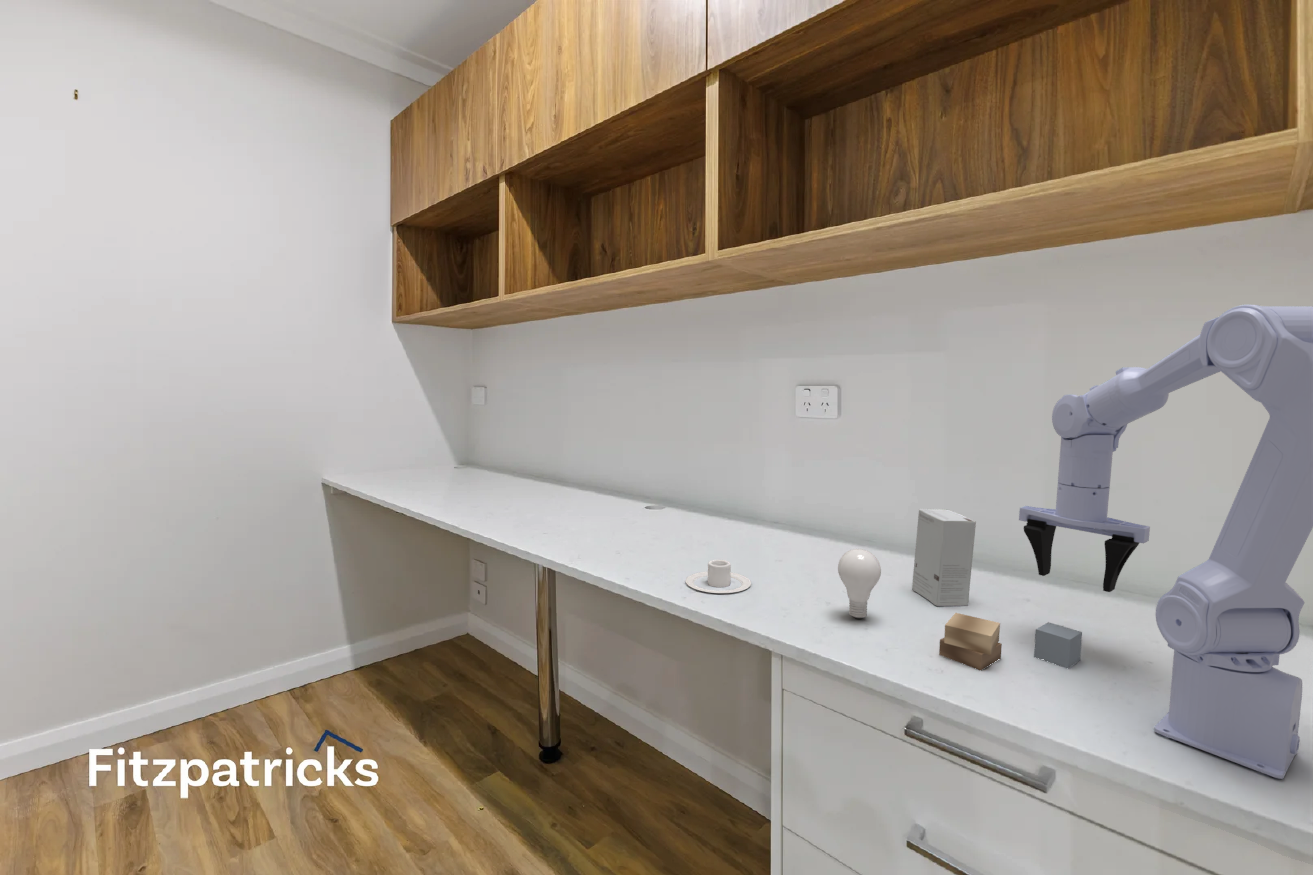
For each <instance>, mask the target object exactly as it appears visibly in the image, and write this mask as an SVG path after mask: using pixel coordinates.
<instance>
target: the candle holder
mask: <svg viewBox="0 0 1313 875" xmlns="http://www.w3.org/2000/svg"><path fill="white" fill-rule="evenodd" d="M731 568H732V564H731V562H730V561H728V560H723V559H712V560H710V561H709V560H708V562H707V570H706V571H701V572H696V573H693V574H690V575H689V576H687V577H686V578H685V581H684V582H685V584H687V585H688V587H690V588H692V589H694V590H696V591H700V592H705V593H709V594H710V593H712V594H732V593H738V592H739V593H740V592H742V591H745V590H747V589H749V588H750V587H751V586H752V581H751V580H750V578H748V577H746V576H744V575H742V574H740V573H735V572H732V571H731ZM705 577H707V585H708V586H711V587H713V588H726V587H729V586H730V585H731V580H732V579H734V580H737V581H739V582H740V586H739V587H737V588H734V589H728V590H727V589H726V590H713V589H706V588H702V587H700V586H697V585H696V584H695V581H696V580H698V579H701V578H705ZM731 578H732V579H731Z"/></svg>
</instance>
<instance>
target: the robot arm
mask: <svg viewBox="0 0 1313 875" xmlns="http://www.w3.org/2000/svg"><path fill="white" fill-rule="evenodd" d="M1200 330H1201V331H1200V334H1198V335H1196V336H1195V337H1193V338H1192V339H1190V340H1189V341H1187V342H1186V343H1184V344H1183V345H1181V346H1180V347H1178V348H1177V349H1175V350H1174V351H1172V352H1171V353H1169V354H1168V355H1166V356H1165V357H1163V358H1162V359H1160V360H1159V361H1157V362H1156V363H1154V364H1152V365H1151V366H1149V367H1148V368H1145V367H1141V366H1130V367H1129V366H1125V367H1124V366H1123V367H1120V368H1119V369H1117V370H1115V375H1114V376H1113V377H1111V378H1110V379H1108V380H1105V381H1104V382H1102V383H1101V384H1099V385H1098V384H1096V385H1093V386H1091V387H1090V388H1089V391H1086V392H1085V393H1084V394H1080V395H1078V394H1073V393H1072V394H1064V395H1063V396H1062V397H1061V398H1060V399H1059V400H1058V401H1057V402H1056V403H1054V404H1055V405H1054V407H1053V410H1052V414H1051V423H1052V426H1053V429H1054V431H1055V433H1056V434H1057V435H1058V436H1059V437H1060V445H1059V446H1060V447H1059V448H1060V449H1059V458H1058V460H1059V463H1058V476H1057V487H1056V488H1057V490H1056V501H1055V508H1044V507H1036V506H1031V505H1030V506H1029V505H1023V506H1021V507H1019V511H1018V514H1019V515H1018V521H1021V522H1026V525H1024V526H1023V532H1024V534H1025V535H1026V537H1027V539H1028V541H1029V543H1030V545H1031V549H1032V551H1033V553H1034V557H1035V560H1036V566H1037V572H1038V575H1039V576H1042V577H1044V576H1045V577H1046V575H1049V574H1050V573H1051V570H1052V569H1051V566H1052V550H1053V549H1052V548H1053V545H1054V543H1053V542H1054V538H1055V533H1056V530H1057V527H1059V528H1065V529H1070V530H1075V531H1080V532H1086V533H1091V534H1096V535H1097V534H1098V535H1104V536H1108V537H1111V538H1108V539H1106V540H1105V541H1104V553H1105V557H1104V558H1105V568H1104V569H1105V570H1104V576H1103V583H1102V589H1103V590H1102V591H1103V592H1107V593H1111V592H1113V591H1114V590H1115V588H1116V584H1117V582H1118V578H1119V576H1120V574H1121V572H1122V570H1123V568H1124V567H1125V564H1126V563H1127V562H1128V560H1129V558H1130V557H1131V556H1132V554H1133V553H1134V551H1135V550H1136V549H1137V547H1138V546H1140V545H1139V544H1145V543H1147V542H1149V540H1150V530H1151V526H1149V525H1144V524H1138V523H1135V522H1131V521H1126V520H1120V519H1116V518H1113V517H1108V512H1109V511H1108V509H1109V498H1110V489H1111V488H1110V487H1111V476H1112V465H1113V453H1114V452H1116V451H1117V449H1118V448H1119V444H1120V443H1119V441H1120V438H1121V436H1122V435H1123V434H1124V433H1125V431H1126V429H1127V427H1128V425H1129V424H1131V423H1133V422H1135V421H1136V420H1139V419H1140V418H1143V417H1146V416H1147V415H1150V414H1152V413H1154V412H1156V411H1159V410H1160V409H1162V408H1164V406H1165V405H1166V403H1167V402H1168V399H1169V395H1170V393H1172V392H1175V391H1178V390H1179V389H1182V388H1185V387H1187V386H1189V385H1192V384H1194V383H1196V382H1199V381H1201V380H1203V379H1206V378H1208V377H1210V376H1213V375H1215V374H1218V373H1220V372H1221V373H1222V374H1224V375H1225V376H1226V377H1227V378H1228V379H1229V380H1231V381H1232V382H1233V383H1234V384H1235V385H1236V386H1238V387H1239V388H1240V389H1241V390H1243V391H1244V392H1245V393H1246V394H1247V395H1248V396H1249V397H1251V398H1252V399H1253V400H1254V401H1256V402H1258V403H1261V405H1262V406H1263V407H1264V409H1265V410H1266V411H1267V413H1268V415H1269V419H1268V421H1267V422H1266V426H1265V428H1264V430H1263V432H1262V435H1261V437H1260V440H1259V442H1258V444H1257V446H1256V449H1255V451H1254V453H1253V456H1252V458H1251V460H1250V462H1249V465H1248V467H1247V470H1246V472H1245V474H1244V477H1243V479H1242V481H1241V483H1240V485H1239V488H1238V490H1237V493H1236V495H1235V498H1234V500H1233V501H1232V504H1231V507H1230V509H1229V511H1228V514H1227V515H1226V519H1225V521H1224V523H1223V524H1222V525H1223V526H1222V528H1221V530H1220V532H1219V534H1218V537H1217V539H1216V541H1215V543H1214V546H1213V549H1212V551H1211V553H1210V555H1209V557H1208V559H1207V560H1205V561H1203V562H1202V563H1200V564H1198V565H1196V566H1195V567H1193V568H1190V569H1189V570H1187V571H1185V572H1183V573H1181V574H1180V575H1178V577H1177V578H1176V581H1175V583H1174V585H1173V587H1172V588H1171V589H1170V590H1168V591H1167V592H1165V593H1164V594H1163V595H1162V596H1161V597H1160V598H1159V599H1158V601H1157V604H1156V606H1155V621H1156V625H1157V628H1158V630H1159V632H1160V635H1161V636H1162V638H1163V639H1164V640H1165V642H1166V643H1167V647H1168V648H1170V649H1172V650H1173V656H1172V657H1173V660H1172V671H1171V682H1170V695H1169V708H1168V712H1166V714H1165V715H1164V716H1163V717H1162V718H1160V720H1159V721H1158V722H1157V723H1156V724H1155V725H1154V726H1153V731H1154V733H1157V734H1159V735H1161V736H1164V737H1167V738H1168V739H1169V738H1170V739H1172V740H1174V741H1178V742H1180V743H1183V744H1185V745H1187V746H1190V747H1194V748H1196V749H1198V750H1202V751H1204V752H1207V753H1209V754H1211V755H1215V756H1217V757H1219V758H1222V759H1225V760H1228V761H1231V762H1233V763H1236V764H1238V765H1241V766H1244V767H1246V768H1249V769H1251V770H1253V771H1257V772H1259V773H1262V774H1264V775H1266V776H1269V777H1273V778H1275V779H1279V780H1281V779H1284V778H1285V775H1286V773H1287V772H1288V769H1289V767H1290V766H1291V763H1292V761H1293V759H1294V758H1295V756H1297V754H1298V752H1299V747H1300V741H1301V739H1300V738H1301V737H1300V736H1299V727H1300V718H1301V710H1302V709H1301V708H1302V699H1303V698H1302V697H1303V679H1302V678H1300V677H1299V676H1295V675H1292V674H1289V673H1287V672H1284V671H1282V670H1279V669H1278V668H1276V667H1274V666H1279V664H1280V655H1285V654H1286V653H1289V652H1291V651H1292V650H1294V648H1295V647H1296V646H1297V644H1298V643H1299V640H1300V635H1301V634H1300V630H1301V629H1300V622H1299V620H1300V614H1301V611H1302V609H1303V607H1304V605H1305V600H1304V599H1303V598H1302V597H1301V596H1300V595H1299V593H1297V591H1295V589H1294V588H1293V587H1292V586H1291V585H1289V584H1288V583H1287V580H1288V579H1289V576H1290V574H1291V573H1292V572H1291V571H1292V570H1293V568H1294V566H1295V564H1296V561H1297V560H1298V558H1299V555H1300V554H1301V553H1302V552H1301V551H1302V550H1303V549H1304V546H1305V544H1306V542H1307V540H1308V538H1309V536H1310V534H1311V532H1312V530H1313V305H1311V306H1310V305H1307V306H1305V305H1300V306H1299V305H1298V306H1297V305H1295V306H1293V305H1288V306H1287V305H1281V306H1280V305H1275V306H1274V305H1269V306H1268V305H1261V304H1260V305H1259V304H1241V305H1240V304H1239V305H1236V306H1233V307H1231V308H1229V309H1227V310H1226V311H1224V312H1222V313H1221V315H1219V316H1217V317H1215V318H1212V319H1209V320H1206V321H1205V322H1204V324H1203V325H1202V328H1201V329H1200Z"/></svg>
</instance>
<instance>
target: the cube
mask: <svg viewBox="0 0 1313 875" xmlns="http://www.w3.org/2000/svg"><path fill="white" fill-rule="evenodd" d="M1082 638H1083V631H1080V630H1077V629H1073V628H1070V627H1066V626H1064V625H1059V624H1055V623H1053V622H1049V621H1048V622H1047V623H1045V624H1042V625H1040V626H1039V627H1037V628H1035V637H1034V652H1033V658H1035V657H1036V658H1035V659H1038V658H1039V659H1038V660H1041V659H1044V660H1045V661H1044V660H1043V661H1044V662H1047V661H1048V662H1047V663H1049V662H1050V663H1049V664H1052V663H1054V664H1053V665H1055V664H1056V665H1055V666H1058V665H1059V666H1058V667H1062V668H1065V669H1067V668H1068V669H1070V668H1072V667H1073V666H1074V665H1076V664H1077V663H1078V662H1080V661H1081V654H1082V652H1081V651H1082V641H1083V640H1082Z"/></svg>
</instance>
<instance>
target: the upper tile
mask: <svg viewBox="0 0 1313 875" xmlns="http://www.w3.org/2000/svg"><path fill="white" fill-rule="evenodd" d="M1000 630H1001V623H1000V622H999V621H998V622H997V621H993V620H989V619H984V618H982V617H981V618H980V617H977V616H976V617H975V616H971V615H967V614H964V613H958V612H955V613H953V615H952V616H951V617H950V619H949V620H948V621H946V623H945V625H944V637H943V638H944V643H947V644H950V645H954V646H958V647H962V648H965V649H969V650H973V651H977V652H981V653H984V654H988V655H991V653H992V652H993V650H994V648H995V647H996V645H997V643H1000V642H999V641H1000V632H1001V631H1000Z"/></svg>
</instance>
